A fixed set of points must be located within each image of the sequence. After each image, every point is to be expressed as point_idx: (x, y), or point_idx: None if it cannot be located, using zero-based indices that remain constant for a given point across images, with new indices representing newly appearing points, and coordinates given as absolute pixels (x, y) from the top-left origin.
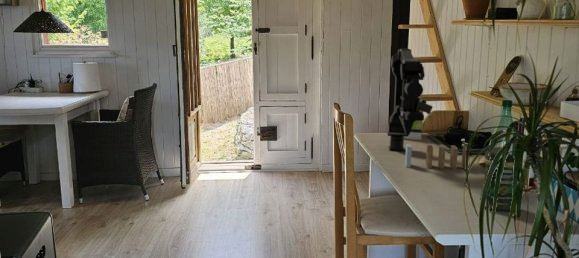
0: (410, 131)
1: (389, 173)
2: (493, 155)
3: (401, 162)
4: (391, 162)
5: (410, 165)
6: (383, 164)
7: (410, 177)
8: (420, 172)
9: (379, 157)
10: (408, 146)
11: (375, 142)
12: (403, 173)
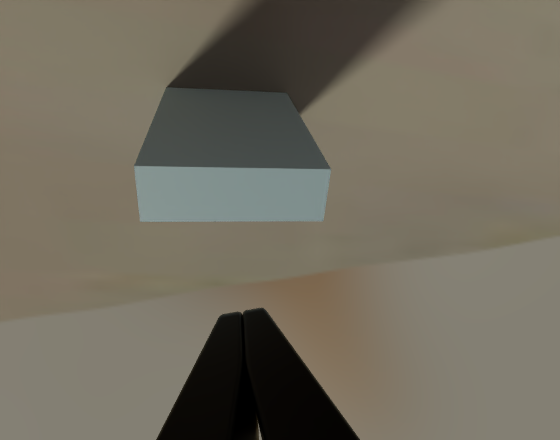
0: (296, 354)
1: (437, 252)
2: None
3: (124, 150)
4: (146, 226)
5: (288, 99)
6: (219, 277)
7: (551, 134)
8: (443, 28)
9: (9, 297)
10: (304, 207)
11: None
12: (450, 169)
